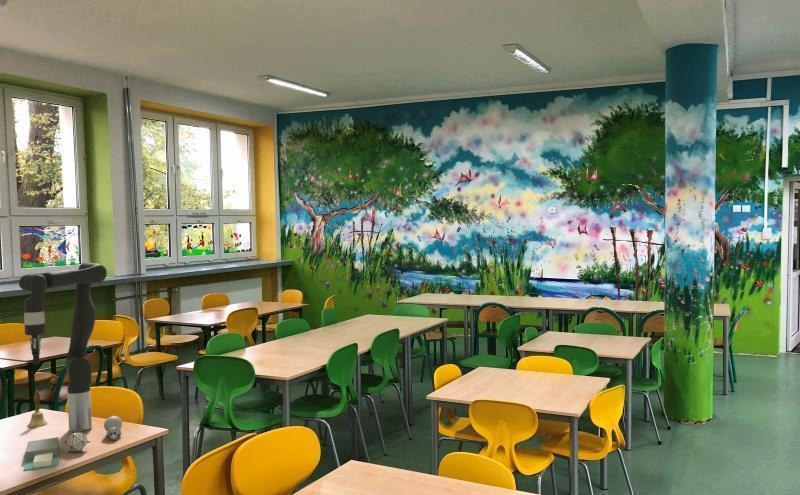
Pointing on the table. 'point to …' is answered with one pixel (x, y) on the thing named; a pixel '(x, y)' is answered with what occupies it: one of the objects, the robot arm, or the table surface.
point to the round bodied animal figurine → (113, 427)
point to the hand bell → (37, 413)
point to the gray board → (42, 448)
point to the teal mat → (30, 467)
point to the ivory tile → (43, 460)
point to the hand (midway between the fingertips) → (36, 364)
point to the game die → (77, 441)
